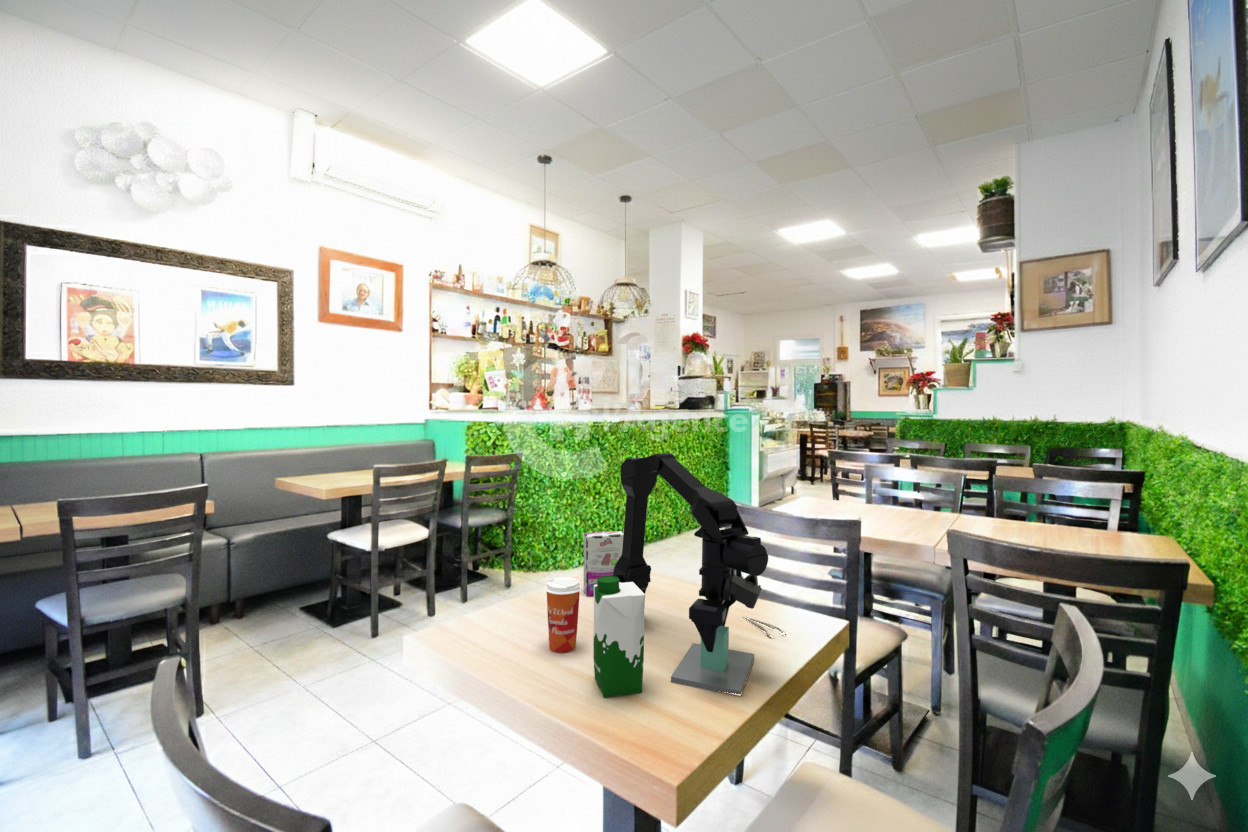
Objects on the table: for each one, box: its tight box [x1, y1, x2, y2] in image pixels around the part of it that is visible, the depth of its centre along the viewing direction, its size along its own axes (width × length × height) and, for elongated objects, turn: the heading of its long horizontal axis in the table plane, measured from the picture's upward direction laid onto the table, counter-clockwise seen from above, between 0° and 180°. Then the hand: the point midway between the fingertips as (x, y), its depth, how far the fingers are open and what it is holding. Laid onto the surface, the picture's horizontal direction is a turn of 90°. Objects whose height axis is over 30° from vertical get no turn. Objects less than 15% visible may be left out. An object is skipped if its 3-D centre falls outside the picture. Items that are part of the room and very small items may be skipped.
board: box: [670, 642, 755, 695], centre depth 108 cm, size 13×16×1 cm
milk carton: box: [593, 576, 646, 699], centre depth 101 cm, size 9×9×20 cm
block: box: [700, 625, 730, 672], centre depth 108 cm, size 4×4×7 cm
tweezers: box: [742, 616, 785, 637], centre depth 132 cm, size 18×5×2 cm, turn 26°
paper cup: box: [544, 576, 582, 654], centre depth 117 cm, size 8×8×14 cm
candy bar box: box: [583, 530, 624, 597], centre depth 152 cm, size 11×5×16 cm, turn 105°
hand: (715, 642), depth 108 cm, fingers open, 9 cm apart
